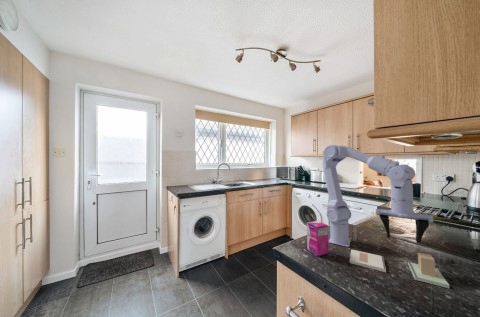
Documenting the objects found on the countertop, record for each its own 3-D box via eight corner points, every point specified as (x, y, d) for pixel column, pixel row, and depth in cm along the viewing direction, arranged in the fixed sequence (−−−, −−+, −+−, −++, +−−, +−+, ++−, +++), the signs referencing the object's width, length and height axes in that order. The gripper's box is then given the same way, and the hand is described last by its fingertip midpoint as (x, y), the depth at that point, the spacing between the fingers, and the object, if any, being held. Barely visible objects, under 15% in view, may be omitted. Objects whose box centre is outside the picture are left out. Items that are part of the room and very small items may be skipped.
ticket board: (351, 251, 72) (351, 249, 72) (383, 259, 66) (383, 256, 66) (349, 263, 64) (349, 259, 64) (386, 272, 58) (385, 268, 58)
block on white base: (408, 264, 62) (407, 247, 63) (437, 271, 58) (436, 252, 59) (415, 279, 54) (414, 259, 54) (449, 288, 50) (448, 266, 50)
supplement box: (306, 250, 73) (306, 222, 74) (318, 248, 75) (317, 220, 76) (317, 257, 68) (316, 226, 68) (329, 254, 70) (328, 224, 70)
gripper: (376, 199, 63) (377, 238, 62) (435, 204, 55) (437, 249, 54) (375, 196, 69) (375, 232, 68) (428, 200, 60) (430, 241, 60)
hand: (402, 239), depth 62 cm, fingers open, 7 cm apart
